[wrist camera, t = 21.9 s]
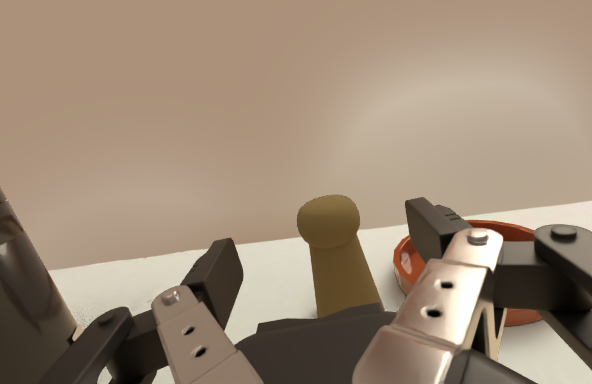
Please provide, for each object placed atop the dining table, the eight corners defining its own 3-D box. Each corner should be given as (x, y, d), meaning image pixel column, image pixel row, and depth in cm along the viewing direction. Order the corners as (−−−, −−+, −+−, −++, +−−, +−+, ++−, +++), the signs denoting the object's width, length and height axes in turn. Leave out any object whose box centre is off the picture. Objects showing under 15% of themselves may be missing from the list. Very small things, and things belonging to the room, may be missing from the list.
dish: (425, 340, 22) (421, 316, 22) (383, 252, 35) (380, 235, 35) (624, 308, 21) (626, 281, 20) (503, 228, 34) (502, 210, 33)
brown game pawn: (332, 287, 31) (307, 189, 28) (390, 293, 28) (369, 184, 25) (306, 329, 27) (273, 217, 24) (373, 342, 23) (345, 215, 20)
